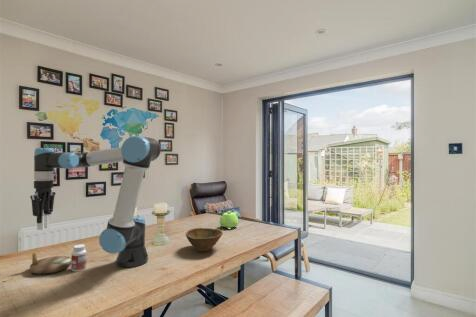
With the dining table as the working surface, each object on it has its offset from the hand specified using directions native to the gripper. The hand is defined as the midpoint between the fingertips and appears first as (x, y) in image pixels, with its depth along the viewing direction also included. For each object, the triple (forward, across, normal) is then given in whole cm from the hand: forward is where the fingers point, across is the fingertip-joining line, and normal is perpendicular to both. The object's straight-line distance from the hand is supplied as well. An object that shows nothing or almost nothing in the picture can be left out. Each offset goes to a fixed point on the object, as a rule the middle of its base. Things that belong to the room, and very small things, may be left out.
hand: (42, 228), depth 128 cm
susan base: (+18, +2, +6) cm, 19 cm away
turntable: (+17, +1, +6) cm, 18 cm away
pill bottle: (+19, +1, +19) cm, 26 cm away
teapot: (+19, -82, +85) cm, 120 cm away
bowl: (+19, -32, +73) cm, 82 cm away
